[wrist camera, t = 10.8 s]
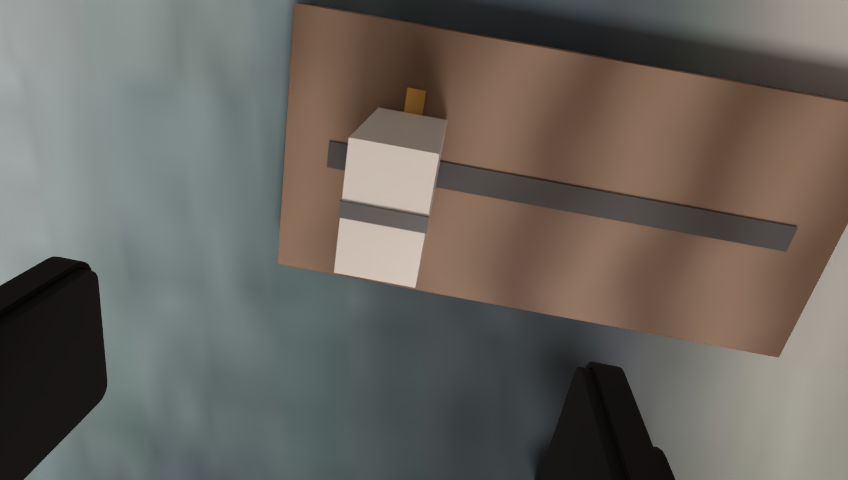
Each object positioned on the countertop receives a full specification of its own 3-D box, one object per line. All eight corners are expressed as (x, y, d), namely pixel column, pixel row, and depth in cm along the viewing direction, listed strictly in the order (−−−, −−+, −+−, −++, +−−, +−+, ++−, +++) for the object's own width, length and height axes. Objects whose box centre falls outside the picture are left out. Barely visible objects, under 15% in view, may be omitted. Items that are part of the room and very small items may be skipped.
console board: (870, 104, 24) (907, 113, 22) (758, 335, 28) (780, 359, 26) (307, 3, 24) (292, 2, 22) (290, 247, 29) (276, 264, 27)
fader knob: (448, 120, 23) (440, 154, 18) (429, 227, 25) (416, 289, 19) (377, 107, 23) (346, 137, 18) (363, 215, 25) (331, 273, 20)
